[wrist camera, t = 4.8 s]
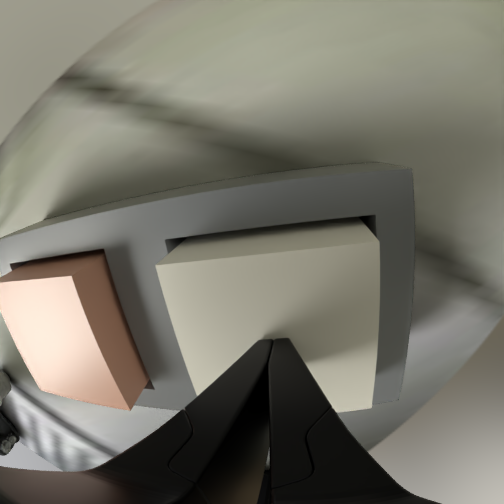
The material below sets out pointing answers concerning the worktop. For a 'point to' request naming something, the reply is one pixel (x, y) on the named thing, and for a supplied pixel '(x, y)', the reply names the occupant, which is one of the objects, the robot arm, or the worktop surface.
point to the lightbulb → (4, 386)
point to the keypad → (228, 219)
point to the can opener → (7, 436)
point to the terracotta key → (73, 329)
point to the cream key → (280, 301)
